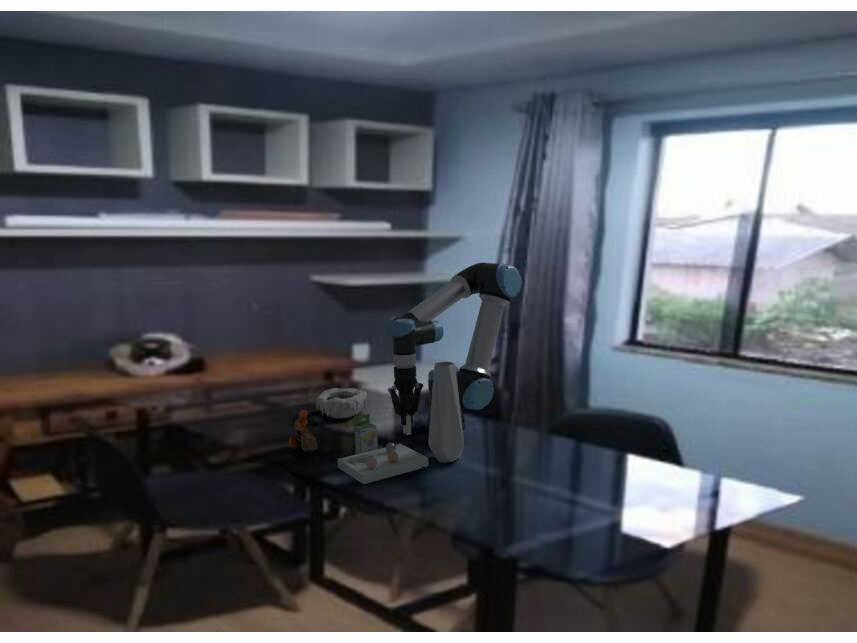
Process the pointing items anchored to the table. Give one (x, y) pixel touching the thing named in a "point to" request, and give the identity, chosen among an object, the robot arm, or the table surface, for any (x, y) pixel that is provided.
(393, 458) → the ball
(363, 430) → the ink box
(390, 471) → the white tray
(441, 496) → the table surface
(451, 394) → the vase
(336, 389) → the bowl
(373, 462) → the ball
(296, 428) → the toy helicopter
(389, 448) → the steel ball
